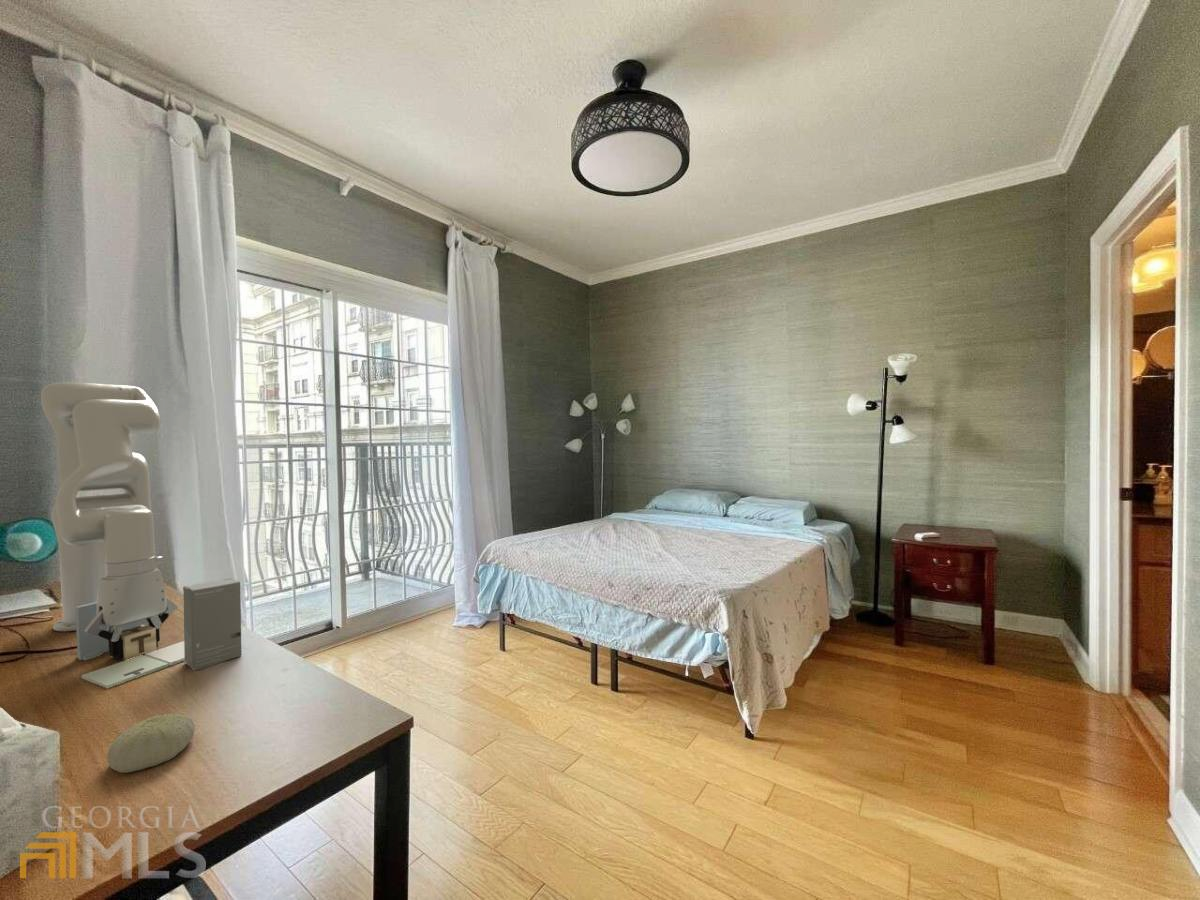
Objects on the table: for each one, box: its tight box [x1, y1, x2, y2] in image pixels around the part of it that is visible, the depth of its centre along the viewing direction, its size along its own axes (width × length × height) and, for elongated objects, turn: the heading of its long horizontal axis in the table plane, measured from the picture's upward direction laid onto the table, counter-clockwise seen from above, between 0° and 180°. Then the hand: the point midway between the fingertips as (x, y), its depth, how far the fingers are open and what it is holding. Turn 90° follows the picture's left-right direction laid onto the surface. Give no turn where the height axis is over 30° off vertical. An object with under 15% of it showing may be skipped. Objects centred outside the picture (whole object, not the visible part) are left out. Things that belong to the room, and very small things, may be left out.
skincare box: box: [182, 577, 243, 671], centre depth 98 cm, size 8×7×16 cm
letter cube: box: [120, 625, 158, 661], centre depth 101 cm, size 5×5×5 cm
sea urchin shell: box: [106, 713, 196, 774], centre depth 68 cm, size 9×8×8 cm
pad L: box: [144, 640, 185, 666], centre depth 101 cm, size 10×9×1 cm
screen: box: [75, 602, 149, 661], centre depth 104 cm, size 4×12×11 cm, turn 156°
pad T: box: [81, 655, 169, 690], centre depth 93 cm, size 10×9×1 cm
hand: (135, 651), depth 101 cm, fingers closed on letter cube, 5 cm apart
